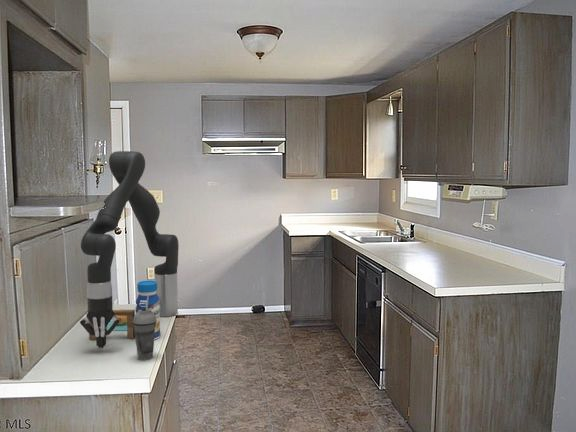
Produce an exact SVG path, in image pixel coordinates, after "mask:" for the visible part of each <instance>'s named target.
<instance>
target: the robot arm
mask: <svg viewBox="0 0 576 432" xmlns="http://www.w3.org/2000/svg"><path fill="white" fill-rule="evenodd" d="M108 165H109V170H110V172H111V174H112V177H113V178H114V179H115V180H116V182H117V184H118V186H117V187H116V188H115V189H114V190H112V191H111V192H110V193H109V194H108V196H106V197H105V199H104V200H103V201H104V203H105V205H104V207H103V208H104V209H101V210H100V209H99V211H98V213H97V214H96V215H97V216H96V218H95V220H94V221H93V222H92V223H91V224H90V226H89V227H88V229H87V230H86V232H85V233H84V234H83V236H82V238H81V241H80V249H81V251H82V253H83V254H84V255H88V256H97V257H98V261H97V262H93V263H90V264H89V265H88V266H87V286H86V288H87V290H86V291H87V292H86V296H87V298H86V299H87V313H86V314H85V315H86V317H84V318H82V319H81V320H80V321H79V323H80V325H81V326H82V327H83V329H85V331H86V332H87V333H88V335H89V334H90V335H94V336H96V340H95V343H96V347H98V349H103V348H105V347H106V345H107V336H109V335H111V333H112V332H114V331H113V330H114V328H115V327H116V326H117V325H118V323H119V322H120V321H121V318H117V317H116V316H114V312H113V310H114V308H113V284H112V274H111V273H112V272H111V270H112V269H111V267H112V263H113V260H114V256H115V252H116V249H117V248H116V247H117V243H116V240H115V238H114V237H113V236H112V235H111V234H109V232H112V231H115V230H116V229H118V225H119V222H120V220H121V217H122V215H123V211H124V209H125V208H126V205H127V203H129V206H130V208H131V210H132V211H133V214H134V216H135V218H136V220H137V221H138V224H139V225H140V228H141V230H142V232H143V235H144V237H145V241H146V244H147V247H148V249H149V251H150V253H151V254H152V256H154V257H161V258H163V257H165V261H164V262H163V263H161V264H157V265H156V266H154V269H153V272H154V273H153V275H154V276H153V277H154V279H153V281H156V282H157V291H156V294H157V295H158V297H159V299H160V302H159V305H160V317H162V318H163V317H166V318H167V317H172V316H175V315H178V313H179V309H178V307H179V306H178V303H179V301H178V299H179V298H178V297H179V296H178V291H179V290H178V266H179V249H180V248H179V247H180V245H179V239H178V237H177V235H176V234H167V233H164V234H163V233H159V232H158V230H157V227H156V225H157V224H158V221H159V218H160V212H161V211H160V207H159V205H158V202H157V200H156V198H155V197H154V195H153V194H152V193H151V192H150V191H149V190H148V189H147V188H145V187H144V186H143V185H141V184H140V183H139V182H140V180H141V179H142V176H143V174H144V172H145V169H146V159H145V157H144V155H143V154H142V153H141V152H140V151H134V150H133V151H132V150H131V151H127V150H126V151H123V150H119V151H113V152H112V153H110V155H109V156H108ZM105 207H106V208H105ZM107 233H108V234H107ZM89 321H90V322H91V323H92V325H94V328H93V327H92V326H91V324H90V323H89ZM111 321H112V323H113V325H112V326H111V327H110V328H109V330H107V325H108V324H109V323H110V322H111Z"/></svg>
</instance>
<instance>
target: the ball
mask: <svg viewBox="0 0 576 432" xmlns="http://www.w3.org/2000/svg"><path fill="white" fill-rule="evenodd" d="M118 310H125V309H122V308H120V309H119V308H118ZM116 317H117V318H121V321H120V322H119V323H118V325H123V324H125V323H126V322H127V316H116Z"/></svg>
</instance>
